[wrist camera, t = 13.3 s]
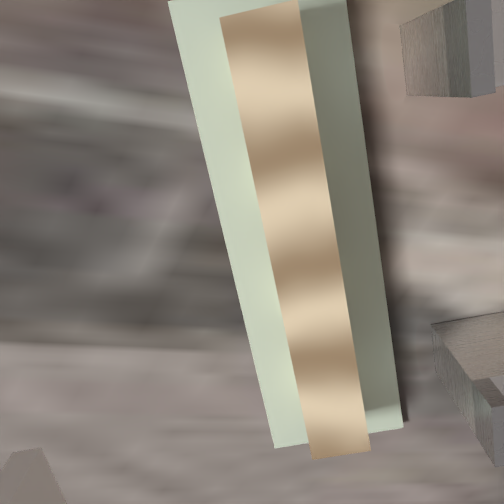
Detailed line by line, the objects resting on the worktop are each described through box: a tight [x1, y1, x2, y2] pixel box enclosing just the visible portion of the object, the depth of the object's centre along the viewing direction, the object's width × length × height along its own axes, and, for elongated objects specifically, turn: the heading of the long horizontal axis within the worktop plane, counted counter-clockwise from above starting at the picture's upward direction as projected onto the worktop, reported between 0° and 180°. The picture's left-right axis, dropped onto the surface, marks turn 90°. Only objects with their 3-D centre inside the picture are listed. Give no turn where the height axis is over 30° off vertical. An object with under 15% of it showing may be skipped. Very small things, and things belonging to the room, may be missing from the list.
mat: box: [168, 0, 403, 448], centre depth 32 cm, size 32×10×1 cm, turn 12°
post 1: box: [400, 0, 504, 98], centre depth 24 cm, size 4×7×10 cm, turn 102°
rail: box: [219, 0, 371, 460], centre depth 30 cm, size 28×4×4 cm, turn 12°
